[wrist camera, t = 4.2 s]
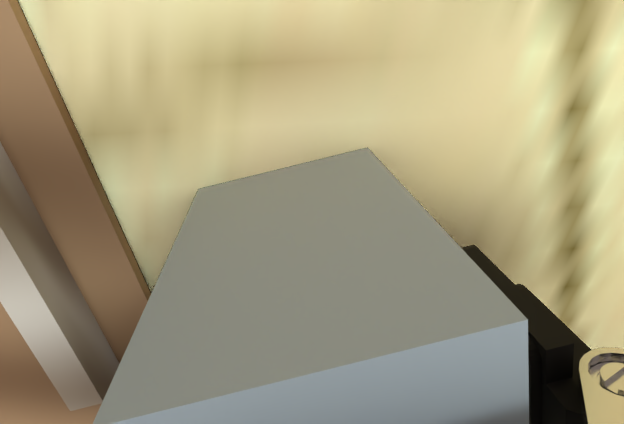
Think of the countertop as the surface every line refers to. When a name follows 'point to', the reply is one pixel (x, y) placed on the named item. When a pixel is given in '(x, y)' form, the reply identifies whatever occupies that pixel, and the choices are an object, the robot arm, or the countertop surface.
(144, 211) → the countertop surface
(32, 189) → the track
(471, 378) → the slider block
